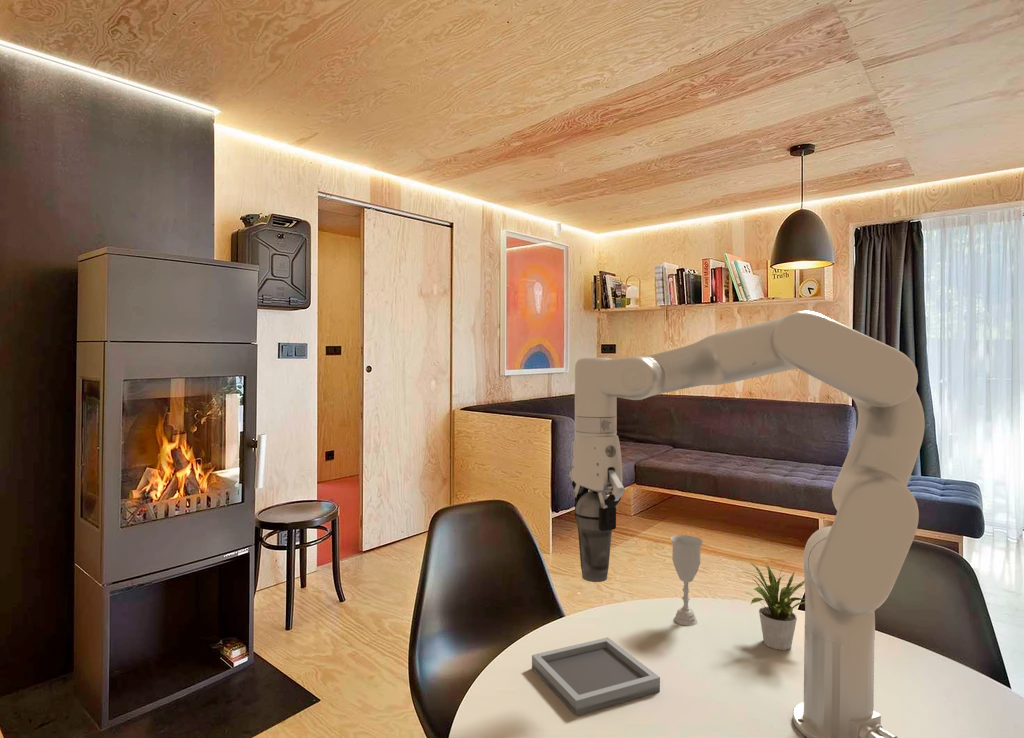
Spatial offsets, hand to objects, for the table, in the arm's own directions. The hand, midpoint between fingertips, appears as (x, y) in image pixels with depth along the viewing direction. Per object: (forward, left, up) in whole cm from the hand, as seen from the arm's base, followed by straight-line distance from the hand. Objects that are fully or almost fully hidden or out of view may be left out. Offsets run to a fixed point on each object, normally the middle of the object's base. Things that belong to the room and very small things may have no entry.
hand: (594, 523), depth 104 cm
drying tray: (0, 0, -28) cm, 28 cm away
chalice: (+12, -32, -29) cm, 45 cm away
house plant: (-3, -41, -29) cm, 50 cm away
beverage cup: (0, 0, -10) cm, 10 cm away
